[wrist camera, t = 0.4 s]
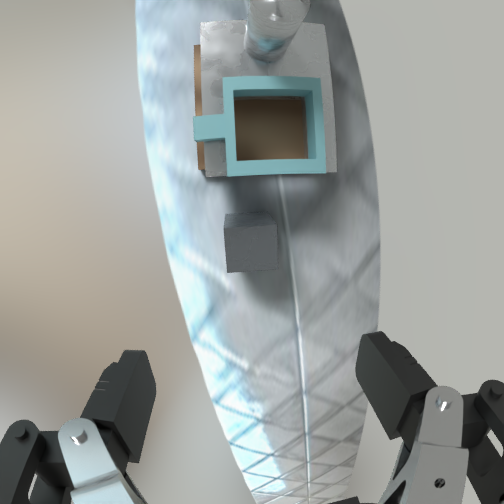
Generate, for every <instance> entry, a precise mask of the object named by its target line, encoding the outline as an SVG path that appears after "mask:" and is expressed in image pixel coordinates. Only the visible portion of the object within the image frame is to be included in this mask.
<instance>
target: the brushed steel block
mask: <svg viewBox="0 0 504 504" xmlns="http://www.w3.org/2000/svg"><path fill="white" fill-rule="evenodd" d="M224 239H225V252H226V264H227V273H232V272H246V271H260V270H273V269H278V241H277V224H276V223H275V221H274V220H273V219H272V217H271V216H270V215H269V214H268V212H250V213H234V214H225V221H224Z"/></svg>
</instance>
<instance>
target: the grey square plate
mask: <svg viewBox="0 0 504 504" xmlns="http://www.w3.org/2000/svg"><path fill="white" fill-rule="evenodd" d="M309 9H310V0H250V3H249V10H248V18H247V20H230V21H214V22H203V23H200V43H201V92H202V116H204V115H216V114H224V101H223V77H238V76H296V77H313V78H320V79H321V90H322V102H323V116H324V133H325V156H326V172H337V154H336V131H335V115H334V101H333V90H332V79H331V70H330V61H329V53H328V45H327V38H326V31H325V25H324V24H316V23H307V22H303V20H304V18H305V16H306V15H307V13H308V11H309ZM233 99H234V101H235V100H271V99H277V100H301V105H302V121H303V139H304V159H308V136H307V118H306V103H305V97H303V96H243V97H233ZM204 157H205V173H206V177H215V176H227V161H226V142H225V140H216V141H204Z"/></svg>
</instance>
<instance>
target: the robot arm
mask: <svg viewBox="0 0 504 504" xmlns="http://www.w3.org/2000/svg"><path fill="white" fill-rule="evenodd" d="M356 377H357V380H358V382H359V384H360V385H361V387H362V389H363V391H364V393H365V395H366V396H367V398H368V400H369V402H370V404H371V405H372V407H373V409H374V411H375V413H376V415H377V417H378V418H379V420H380V422H381V424H382V426H383V428H384V430H385V432H386V433H387V435H388V437H389V439H390V440H392V439H395V438H398V437H402V439H403V442H402V444H401V447H400V450H399V454H398V457H397V460H396V463H395V466H394V469H393V472H392V475H391V478H390V481H389V483H388V486H387V488H386V490H385V491H384V493H383V495H382V497H381V498H380V500H379V502H378V504H461V503H462V498H463V493H464V487H465V481H466V475H467V476H468V478H469V480H470V482H471V484H472V486H473V488H474V490H475V492H476V494H477V496H478V498H479V500H480V502H481V504H504V451H503V456H502V457H501V456H500V455H499V453H498V452H497V450H496V449H495V447H494V445H493V444H492V443H491V441H490V439H489V438H488V436H487V434H488V433H489V431H490V430H491V429H492V431H493V432H494V434H495V435H496V437H497V438H498V440H499V441H500V442H501V444H502V446H503V450H504V383H502V382H500V381H497V380H488V381H486V382H484V383H483V384H482V386H481V387H480V389H479V391H478V393H474V394H468V395H460V393H459V392H458V391H456V390H455V389H453V388H451V387H447V386H437V385H436V383H435V382H434V381H433V380H432V379H431V377H430V376H429V375H428V374H427V372H426V371H425V370H424V369H423V368H422V367H421V365H420V364H418V363H417V361H416V359H415V358H414V357H412V355H411V354H410V352H409V351H408V350H407V349H406V348H405V347H404V346H402V345H400V344H398V343H397V342H395V341H393V342H391V341H390V340H389V338H388V337H387V336H386V335H385V334H384V333H383V332H382V331H379V332H374V333H368V334H363V335H362V337H361V340H360V346H359V351H358V357H357V362H356ZM155 397H156V383H155V379H154V376H153V373H152V370H151V367H150V363H149V360H148V357H147V354H146V352H145V351H143V350H125V351H124V352H123V354H122V356H121V358H120V360H119V362H118V363H116V362H113V363H112V364H111V365H110V366H108V367H107V368H106V369H105V370H104V371H103V373H102V375H101V377H100V379H99V382H98V383H97V384H96V386H95V390H94V391H93V392H92V394H91V396H90V398H89V400H88V402H87V404H86V406H85V408H84V410H83V413H82V415H81V417H80V418H75V419H72V420H69V421H68V422H66V423H65V424H64V425H63V426H62V427H61V428H60V430H59V431H39V430H38V428H37V427H36V425H35V424H34V423H33V422H31V421H29V420H19V421H16V422H15V423H13V424H12V425H11V426H10V427H9V429H8V430H7V432H6V434H5V435H4V438H3V439H2V441H1V443H0V504H71V499H72V500H73V503H74V504H148V503H147V502H146V501H145V499H144V497H143V496H142V495H141V493H140V491H139V490H138V488H137V487H136V485H135V484H134V482H133V480H132V479H131V477H130V476H129V474H128V472H127V471H126V467H127V463H128V462H133V463H139V461H140V456H141V451H142V448H143V444H144V440H145V435H146V431H147V427H148V423H149V420H150V416H151V412H152V408H153V404H154V401H155ZM34 474H36V475H37V479H36V481H35V484H34V487H33V490H32V493H31V496H30V500H29V499H28V492H29V489H30V486H31V483H32V480H33V477H34ZM329 504H375V503H359V500H358V497H357V496H356V497H352V498H349V499H345V500H341V501H337V502H333V503H329Z"/></svg>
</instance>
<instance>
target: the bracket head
mask: <svg viewBox="0 0 504 504" xmlns="http://www.w3.org/2000/svg"><path fill="white" fill-rule="evenodd" d="M243 96H303V97H305V103H306V118H307V136H308V159H273V160H248V161H237V157H236V139H235V119H234V99H233V97H243ZM223 101H224V114H216V115H204V116H194V117H193V127H194V140H195V141H196V142H204V141H216V140H225V142H226V161H227V177H229V176H246V175H267V174H301V173H326V156H325V133H324V116H323V102H322V90H321V79H320V78H313V77H296V76H238V77H223Z"/></svg>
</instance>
